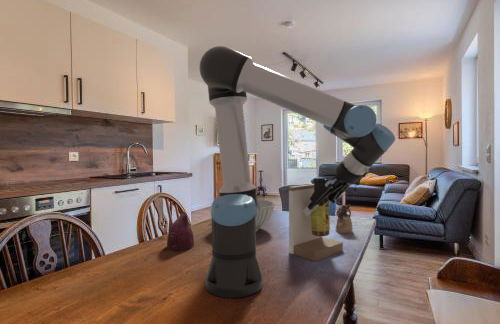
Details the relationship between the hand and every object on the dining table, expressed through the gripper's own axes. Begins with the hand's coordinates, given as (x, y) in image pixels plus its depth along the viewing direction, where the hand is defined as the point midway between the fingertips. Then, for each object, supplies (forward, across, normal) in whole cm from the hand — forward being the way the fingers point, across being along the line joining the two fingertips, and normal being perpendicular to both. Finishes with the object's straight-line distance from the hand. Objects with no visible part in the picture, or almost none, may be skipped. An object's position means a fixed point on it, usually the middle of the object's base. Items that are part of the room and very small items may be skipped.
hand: (311, 212), depth 107 cm
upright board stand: (+8, 0, -11) cm, 14 cm away
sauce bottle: (+3, 0, -8) cm, 8 cm away
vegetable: (+35, -34, +16) cm, 51 cm away
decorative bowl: (+36, -1, +17) cm, 40 cm away
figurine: (+15, +31, -5) cm, 34 cm away
